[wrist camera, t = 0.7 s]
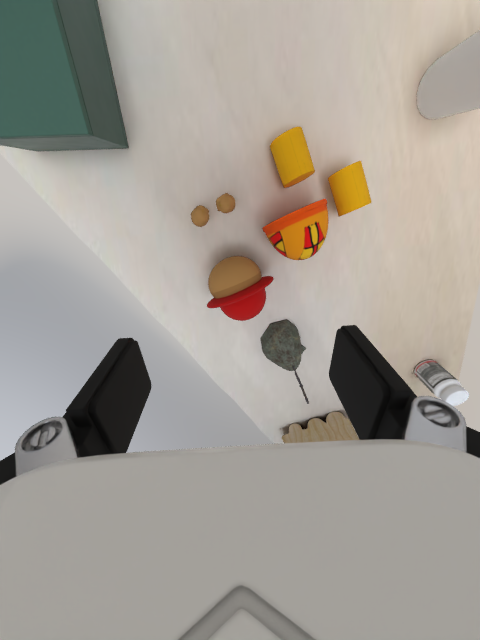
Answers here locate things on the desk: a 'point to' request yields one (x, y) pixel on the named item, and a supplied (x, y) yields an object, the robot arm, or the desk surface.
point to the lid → (37, 74)
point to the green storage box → (86, 84)
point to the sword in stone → (283, 346)
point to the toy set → (281, 227)
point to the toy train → (322, 430)
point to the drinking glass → (452, 82)
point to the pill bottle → (441, 382)
